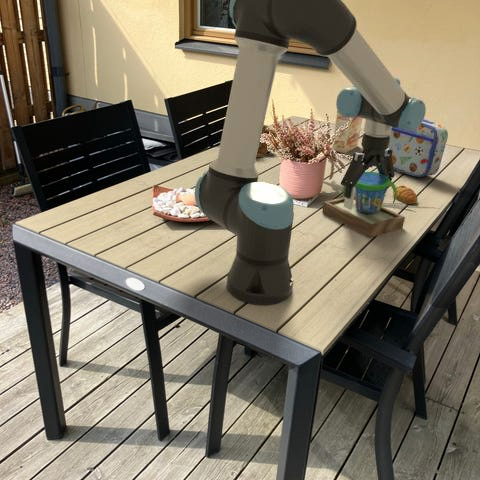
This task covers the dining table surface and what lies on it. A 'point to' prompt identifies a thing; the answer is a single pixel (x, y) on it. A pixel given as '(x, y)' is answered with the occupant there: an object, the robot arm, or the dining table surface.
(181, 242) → the dining table surface
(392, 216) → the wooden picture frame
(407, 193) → the pastry
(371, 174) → the snack cup
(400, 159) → the lunch box
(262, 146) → the stuffed squirrel
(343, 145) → the coffeecake box
